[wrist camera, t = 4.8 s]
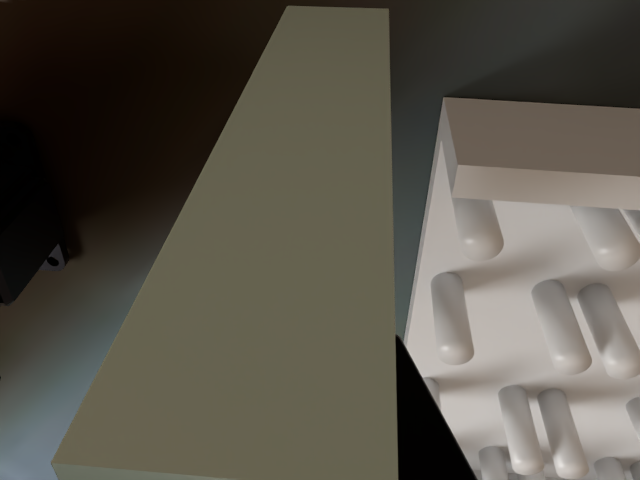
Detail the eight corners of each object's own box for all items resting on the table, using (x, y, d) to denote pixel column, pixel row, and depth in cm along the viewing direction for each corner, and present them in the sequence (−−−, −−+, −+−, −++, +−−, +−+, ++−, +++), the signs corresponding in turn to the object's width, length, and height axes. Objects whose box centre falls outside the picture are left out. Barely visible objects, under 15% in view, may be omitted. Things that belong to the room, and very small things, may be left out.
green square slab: (297, 352, 14) (221, 815, 7) (287, 5, 9) (52, 462, 3) (363, 357, 14) (344, 832, 7) (389, 9, 9) (399, 495, 3)
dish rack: (385, 455, 30) (385, 541, 27) (443, 97, 18) (458, 164, 15) (716, 486, 29) (763, 580, 26) (1002, 129, 18) (1163, 210, 14)
